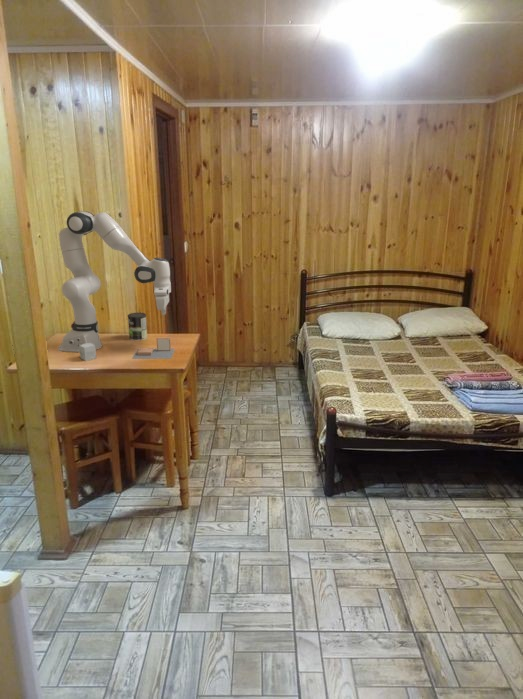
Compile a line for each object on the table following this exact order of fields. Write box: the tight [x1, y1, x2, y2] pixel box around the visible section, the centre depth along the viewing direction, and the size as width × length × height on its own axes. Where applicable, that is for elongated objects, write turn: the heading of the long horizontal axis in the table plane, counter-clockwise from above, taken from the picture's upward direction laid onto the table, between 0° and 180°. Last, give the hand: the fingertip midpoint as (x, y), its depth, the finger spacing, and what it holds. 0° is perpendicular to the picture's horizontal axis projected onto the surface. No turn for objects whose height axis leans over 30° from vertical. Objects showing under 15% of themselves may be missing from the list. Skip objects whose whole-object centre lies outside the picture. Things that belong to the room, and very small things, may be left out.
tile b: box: [156, 337, 172, 351], centre depth 263 cm, size 7×2×7 cm, turn 92°
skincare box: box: [79, 343, 97, 362], centre depth 251 cm, size 6×6×7 cm
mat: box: [131, 348, 176, 360], centre depth 259 cm, size 20×16×1 cm
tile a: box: [138, 347, 154, 355], centre depth 259 cm, size 7×2×7 cm
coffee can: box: [127, 312, 148, 341], centre depth 283 cm, size 10×10×14 cm
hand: (164, 314), depth 264 cm, fingers closed
